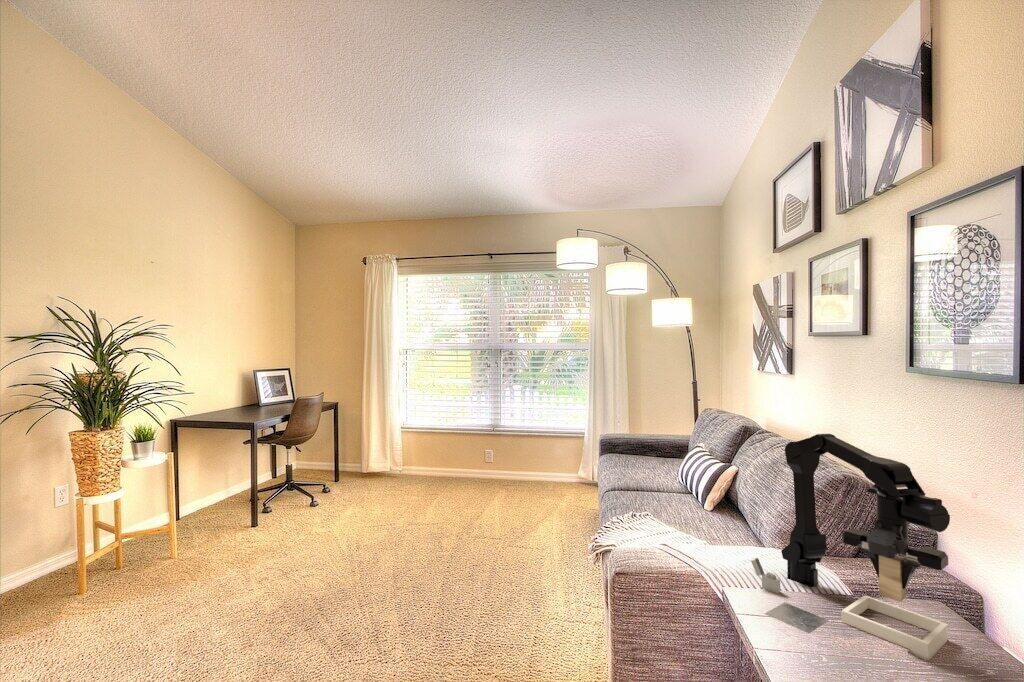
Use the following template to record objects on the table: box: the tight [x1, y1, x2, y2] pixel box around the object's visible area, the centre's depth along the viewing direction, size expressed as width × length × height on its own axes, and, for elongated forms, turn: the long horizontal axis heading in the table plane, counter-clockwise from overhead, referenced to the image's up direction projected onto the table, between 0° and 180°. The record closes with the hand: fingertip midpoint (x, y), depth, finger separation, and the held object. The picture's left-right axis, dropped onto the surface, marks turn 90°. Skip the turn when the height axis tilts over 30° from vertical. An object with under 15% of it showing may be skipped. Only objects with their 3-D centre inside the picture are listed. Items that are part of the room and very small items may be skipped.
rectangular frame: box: [840, 595, 949, 662], centre depth 111 cm, size 16×14×4 cm
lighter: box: [750, 557, 781, 594], centre depth 131 cm, size 7×2×8 cm, turn 38°
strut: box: [878, 554, 907, 603], centre depth 112 cm, size 4×4×9 cm
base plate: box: [764, 602, 829, 634], centre depth 116 cm, size 10×10×1 cm
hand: (892, 584), depth 112 cm, fingers closed on strut, 4 cm apart
